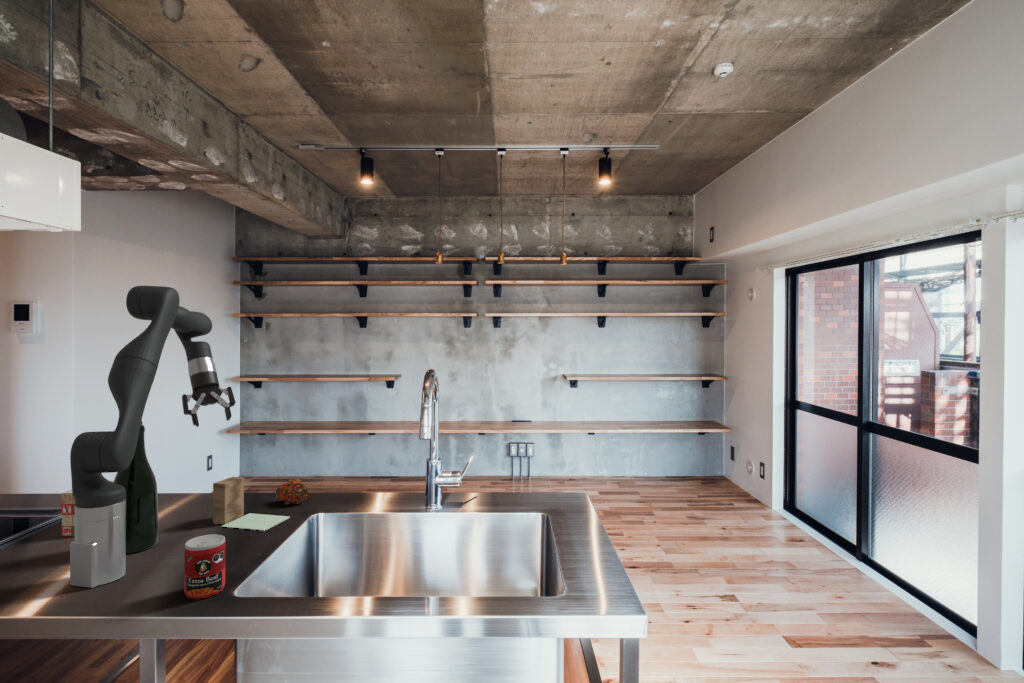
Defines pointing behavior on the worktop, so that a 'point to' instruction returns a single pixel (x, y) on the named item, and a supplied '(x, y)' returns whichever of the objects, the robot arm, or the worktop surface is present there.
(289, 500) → the dragon fruit
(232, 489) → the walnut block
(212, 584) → the canned food
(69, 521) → the stack of blocks
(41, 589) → the worktop surface
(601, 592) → the worktop surface
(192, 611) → the worktop surface
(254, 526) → the mat
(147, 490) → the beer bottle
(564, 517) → the worktop surface
